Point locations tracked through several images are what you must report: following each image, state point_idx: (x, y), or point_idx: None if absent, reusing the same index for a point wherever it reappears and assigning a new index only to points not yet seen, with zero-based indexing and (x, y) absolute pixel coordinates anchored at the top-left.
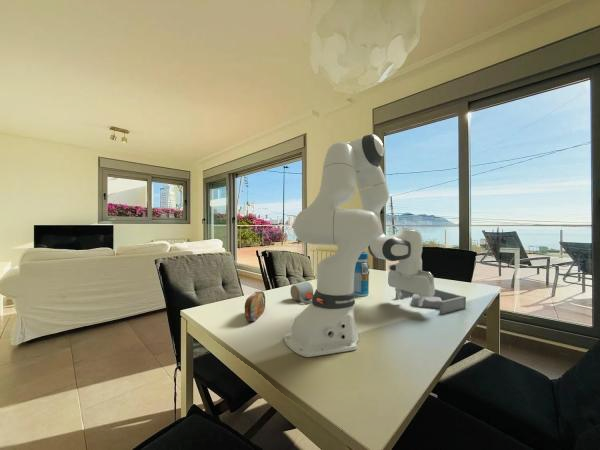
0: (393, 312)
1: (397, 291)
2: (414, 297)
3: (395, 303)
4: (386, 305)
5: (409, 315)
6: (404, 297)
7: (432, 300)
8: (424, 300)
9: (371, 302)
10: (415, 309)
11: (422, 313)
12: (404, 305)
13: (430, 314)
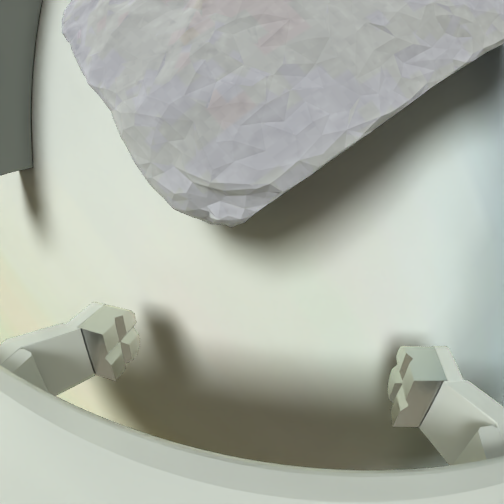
0: (275, 463)
1: (52, 390)
2: (203, 207)
3: (115, 303)
4: (139, 393)
5: (380, 441)
6: (31, 72)
7: (450, 33)
8: (371, 128)
9: (72, 397)
10: (344, 305)
11: (442, 345)
12: (190, 286)
13: (499, 307)
